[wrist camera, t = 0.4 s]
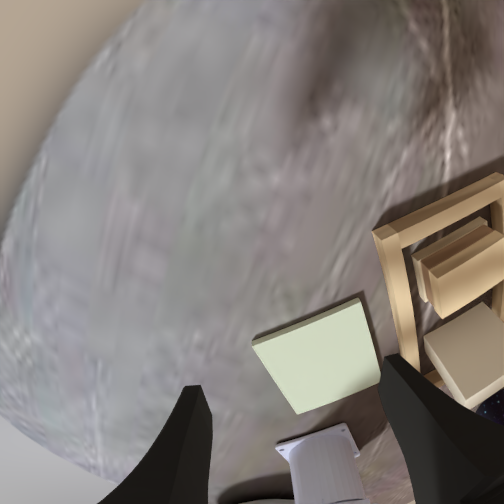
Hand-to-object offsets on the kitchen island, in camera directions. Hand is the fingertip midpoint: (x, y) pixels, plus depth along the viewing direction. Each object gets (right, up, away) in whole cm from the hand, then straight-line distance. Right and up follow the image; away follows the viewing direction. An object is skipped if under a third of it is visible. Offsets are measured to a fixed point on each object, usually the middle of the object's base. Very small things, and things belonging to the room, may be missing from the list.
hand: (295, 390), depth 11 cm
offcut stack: (+14, +5, +10) cm, 18 cm away
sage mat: (+4, -4, +13) cm, 14 cm away
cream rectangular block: (+17, -2, +13) cm, 21 cm away
